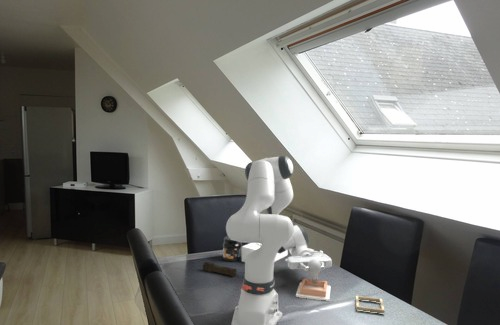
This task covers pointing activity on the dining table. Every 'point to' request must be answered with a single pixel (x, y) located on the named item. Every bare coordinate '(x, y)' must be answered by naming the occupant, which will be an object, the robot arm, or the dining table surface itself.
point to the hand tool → (219, 269)
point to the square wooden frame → (368, 307)
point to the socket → (313, 290)
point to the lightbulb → (314, 270)
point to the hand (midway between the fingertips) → (315, 268)
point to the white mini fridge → (254, 246)
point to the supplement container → (231, 250)
